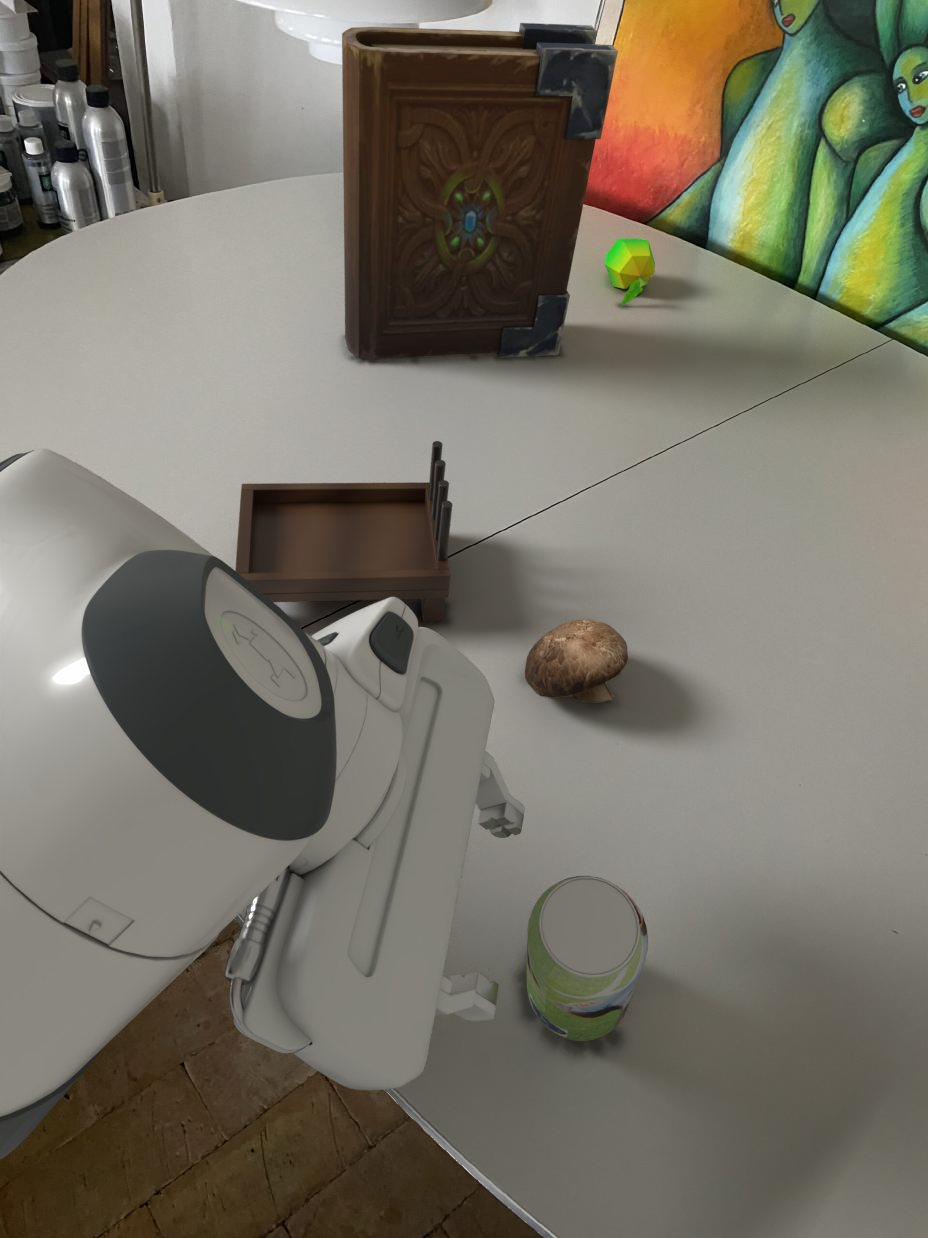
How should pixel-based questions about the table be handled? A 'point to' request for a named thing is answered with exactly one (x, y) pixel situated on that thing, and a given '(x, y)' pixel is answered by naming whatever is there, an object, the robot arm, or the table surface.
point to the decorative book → (466, 184)
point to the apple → (630, 266)
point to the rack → (348, 540)
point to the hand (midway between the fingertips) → (500, 908)
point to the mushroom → (577, 661)
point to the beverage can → (584, 956)
